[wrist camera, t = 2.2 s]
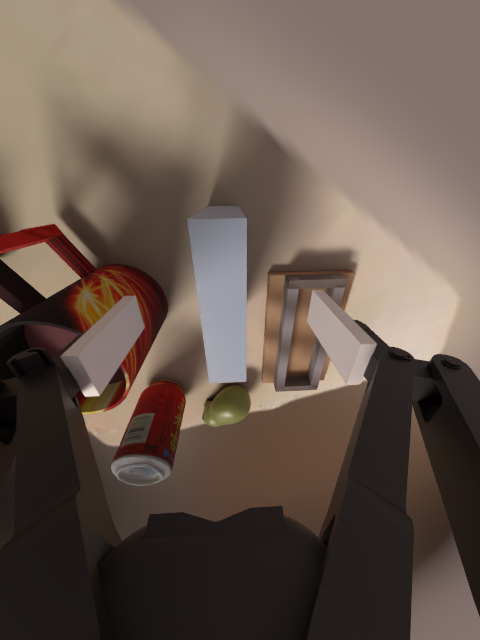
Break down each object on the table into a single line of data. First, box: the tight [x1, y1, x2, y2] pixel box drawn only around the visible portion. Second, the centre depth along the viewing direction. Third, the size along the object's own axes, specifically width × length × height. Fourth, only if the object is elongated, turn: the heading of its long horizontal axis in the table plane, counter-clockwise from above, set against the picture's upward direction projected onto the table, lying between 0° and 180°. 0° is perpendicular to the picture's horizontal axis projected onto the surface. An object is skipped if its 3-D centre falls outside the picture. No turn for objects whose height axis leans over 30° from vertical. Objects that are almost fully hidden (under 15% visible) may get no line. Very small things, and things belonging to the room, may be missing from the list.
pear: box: [202, 385, 251, 427], centre depth 34 cm, size 6×5×10 cm
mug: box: [0, 224, 168, 414], centre depth 20 cm, size 10×14×12 cm
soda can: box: [111, 379, 186, 486], centre depth 29 cm, size 7×7×12 cm
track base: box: [262, 270, 355, 392], centre depth 28 cm, size 18×10×3 cm, turn 1°
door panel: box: [187, 206, 247, 383], centre depth 19 cm, size 12×3×12 cm, turn 1°
